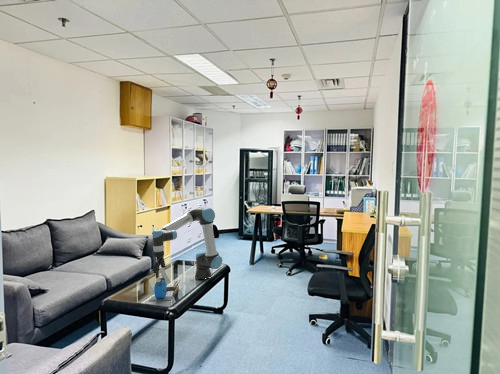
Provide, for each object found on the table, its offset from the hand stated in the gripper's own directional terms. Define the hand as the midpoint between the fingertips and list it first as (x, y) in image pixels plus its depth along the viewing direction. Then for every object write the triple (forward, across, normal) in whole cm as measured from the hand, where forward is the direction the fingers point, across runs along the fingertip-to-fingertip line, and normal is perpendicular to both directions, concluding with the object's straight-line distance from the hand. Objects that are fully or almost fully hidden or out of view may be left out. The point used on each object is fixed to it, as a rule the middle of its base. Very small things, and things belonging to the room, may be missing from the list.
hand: (160, 278), depth 250 cm
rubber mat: (+15, 0, 0) cm, 15 cm away
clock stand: (+15, +12, -3) cm, 19 cm away
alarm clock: (+15, 0, 0) cm, 15 cm away
